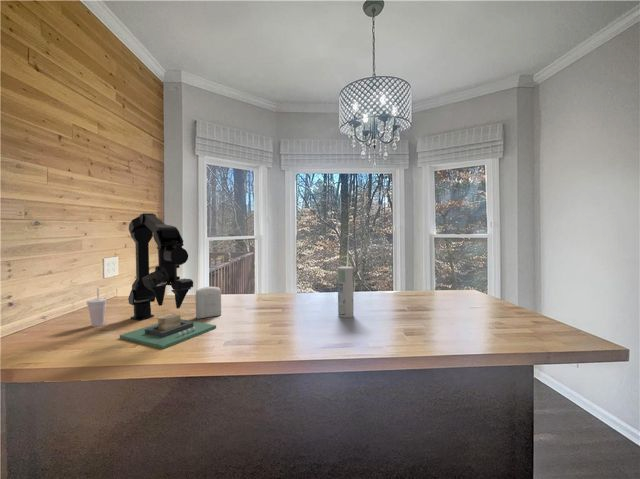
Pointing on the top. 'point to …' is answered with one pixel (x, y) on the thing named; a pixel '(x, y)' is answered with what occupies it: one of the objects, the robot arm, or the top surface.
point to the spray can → (345, 291)
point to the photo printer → (208, 302)
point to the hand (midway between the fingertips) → (169, 306)
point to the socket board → (167, 334)
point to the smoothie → (97, 310)
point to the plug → (168, 321)
